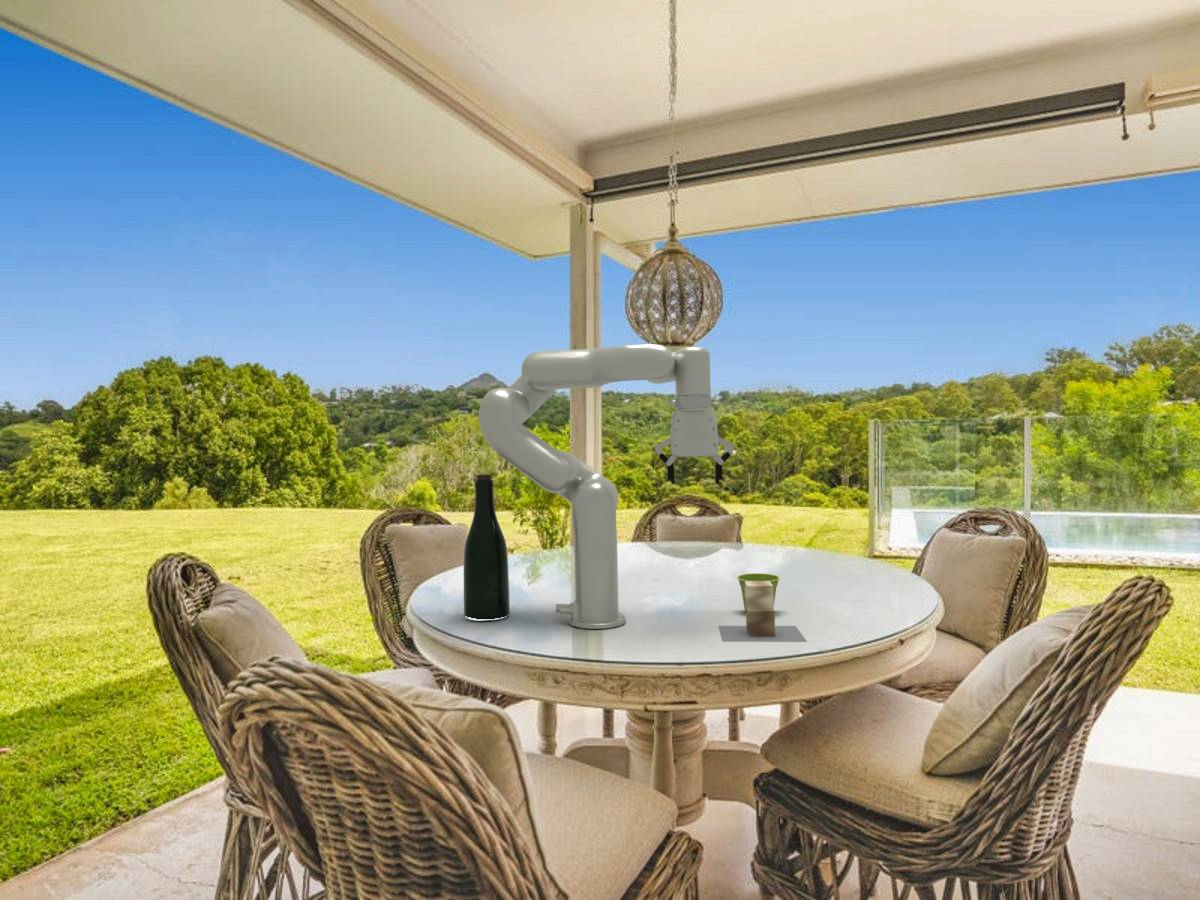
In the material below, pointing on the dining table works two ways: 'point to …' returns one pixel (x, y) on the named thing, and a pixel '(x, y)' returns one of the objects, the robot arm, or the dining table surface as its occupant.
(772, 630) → the walnut block
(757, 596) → the maple block
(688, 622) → the dining table surface
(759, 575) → the plant pot
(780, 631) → the mat
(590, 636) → the dining table surface
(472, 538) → the dark wine bottle
